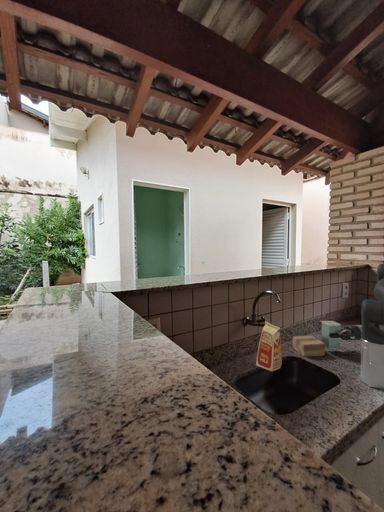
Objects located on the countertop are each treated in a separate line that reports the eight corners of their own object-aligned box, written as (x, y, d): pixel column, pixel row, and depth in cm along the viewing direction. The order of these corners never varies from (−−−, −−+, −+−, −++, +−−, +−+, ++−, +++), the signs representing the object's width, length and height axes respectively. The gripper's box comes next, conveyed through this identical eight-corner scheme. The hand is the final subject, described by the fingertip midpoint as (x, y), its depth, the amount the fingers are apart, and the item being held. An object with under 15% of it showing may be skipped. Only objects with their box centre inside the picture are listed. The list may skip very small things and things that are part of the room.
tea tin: (340, 348, 120) (340, 324, 119) (328, 348, 119) (329, 324, 119) (332, 343, 126) (332, 320, 126) (321, 343, 125) (321, 320, 125)
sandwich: (324, 355, 119) (324, 343, 118) (303, 356, 118) (303, 344, 117) (311, 346, 130) (312, 335, 129) (292, 347, 129) (292, 336, 128)
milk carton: (256, 365, 110) (256, 322, 109) (266, 358, 116) (266, 318, 115) (274, 372, 103) (274, 327, 102) (284, 365, 109) (285, 322, 108)
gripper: (346, 321, 131) (317, 321, 129) (368, 330, 116) (335, 331, 115) (346, 334, 131) (317, 335, 129) (367, 345, 116) (335, 346, 115)
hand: (326, 333), depth 122 cm, fingers closed on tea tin, 6 cm apart
